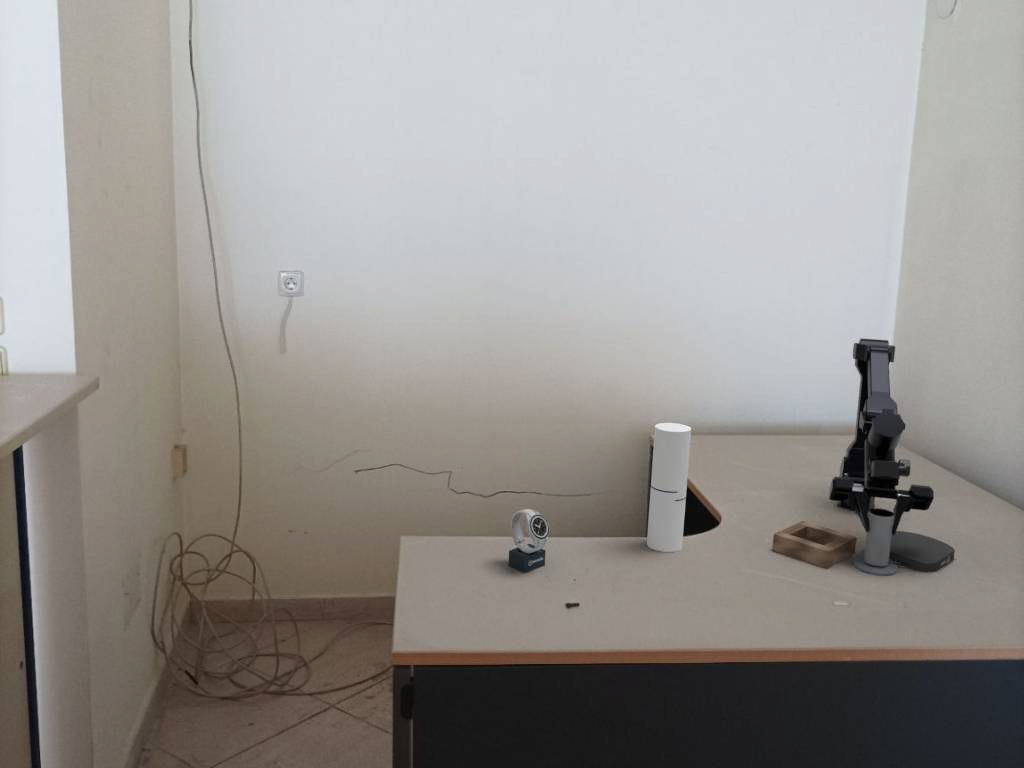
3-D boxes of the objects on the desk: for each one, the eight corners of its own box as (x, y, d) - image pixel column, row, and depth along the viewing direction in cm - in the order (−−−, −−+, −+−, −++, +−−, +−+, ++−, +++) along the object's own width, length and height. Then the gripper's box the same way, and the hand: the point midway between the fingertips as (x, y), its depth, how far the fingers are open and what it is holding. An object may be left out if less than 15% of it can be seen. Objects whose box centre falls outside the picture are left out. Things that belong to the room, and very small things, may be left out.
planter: (892, 566, 180) (899, 516, 178) (870, 566, 179) (876, 516, 177) (880, 557, 184) (886, 508, 182) (859, 557, 184) (865, 508, 181)
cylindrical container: (643, 538, 192) (651, 422, 187) (677, 538, 193) (685, 422, 188) (651, 552, 185) (659, 431, 180) (686, 552, 186) (695, 432, 181)
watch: (532, 576, 172) (534, 520, 170) (502, 563, 178) (503, 508, 175) (552, 568, 176) (555, 513, 174) (522, 555, 181) (524, 502, 179)
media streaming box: (889, 537, 199) (891, 524, 198) (959, 558, 189) (961, 544, 188) (858, 554, 189) (860, 540, 188) (930, 577, 179) (932, 563, 178)
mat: (846, 566, 182) (846, 563, 182) (864, 556, 187) (864, 553, 187) (886, 579, 176) (886, 576, 176) (903, 568, 182) (904, 565, 182)
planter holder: (772, 550, 189) (773, 534, 188) (801, 536, 197) (802, 520, 196) (827, 568, 180) (829, 551, 180) (855, 553, 189) (857, 536, 188)
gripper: (837, 437, 183) (835, 509, 175) (938, 447, 178) (942, 521, 170) (829, 464, 192) (828, 533, 184) (926, 473, 187) (928, 545, 179)
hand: (880, 532), depth 179 cm, fingers closed on planter, 4 cm apart
